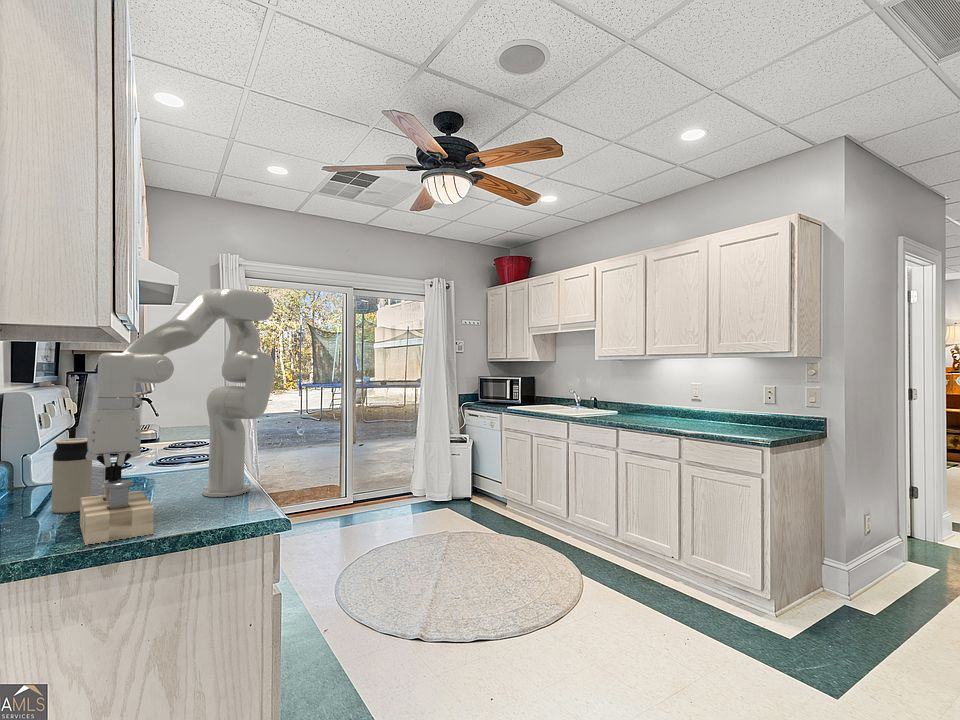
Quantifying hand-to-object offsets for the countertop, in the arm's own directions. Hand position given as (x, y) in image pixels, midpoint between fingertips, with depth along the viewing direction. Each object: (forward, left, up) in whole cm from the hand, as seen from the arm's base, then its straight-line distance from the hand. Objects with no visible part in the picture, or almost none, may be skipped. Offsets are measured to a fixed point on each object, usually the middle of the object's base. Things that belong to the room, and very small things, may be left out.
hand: (112, 482), depth 121 cm
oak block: (+5, 0, -10) cm, 11 cm away
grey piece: (+10, 0, -5) cm, 11 cm away
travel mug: (-21, -7, -10) cm, 24 cm away
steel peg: (0, 0, -7) cm, 7 cm away
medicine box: (-36, 0, -10) cm, 37 cm away
